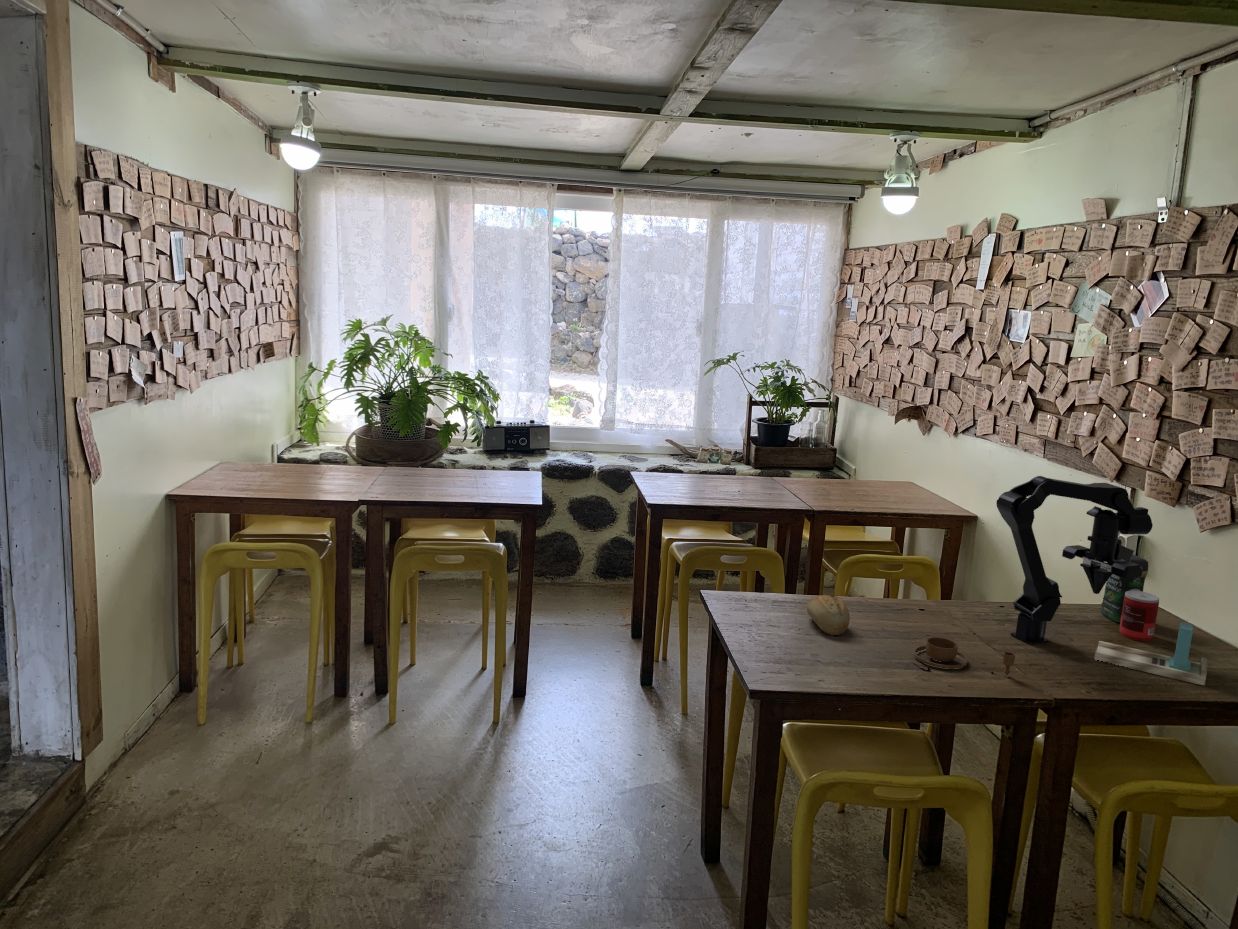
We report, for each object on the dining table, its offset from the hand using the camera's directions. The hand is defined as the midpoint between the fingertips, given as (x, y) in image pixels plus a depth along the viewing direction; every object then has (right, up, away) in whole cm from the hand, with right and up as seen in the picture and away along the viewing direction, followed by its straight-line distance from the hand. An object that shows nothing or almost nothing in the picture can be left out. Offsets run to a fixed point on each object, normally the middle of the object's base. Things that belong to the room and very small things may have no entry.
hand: (1096, 593), depth 215 cm
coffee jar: (+16, -10, +18) cm, 26 cm away
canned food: (+13, -12, +5) cm, 19 cm away
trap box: (+5, -15, -14) cm, 21 cm away
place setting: (-43, -15, -18) cm, 49 cm away
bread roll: (-68, -9, +3) cm, 68 cm away
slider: (+9, -14, -18) cm, 25 cm away
